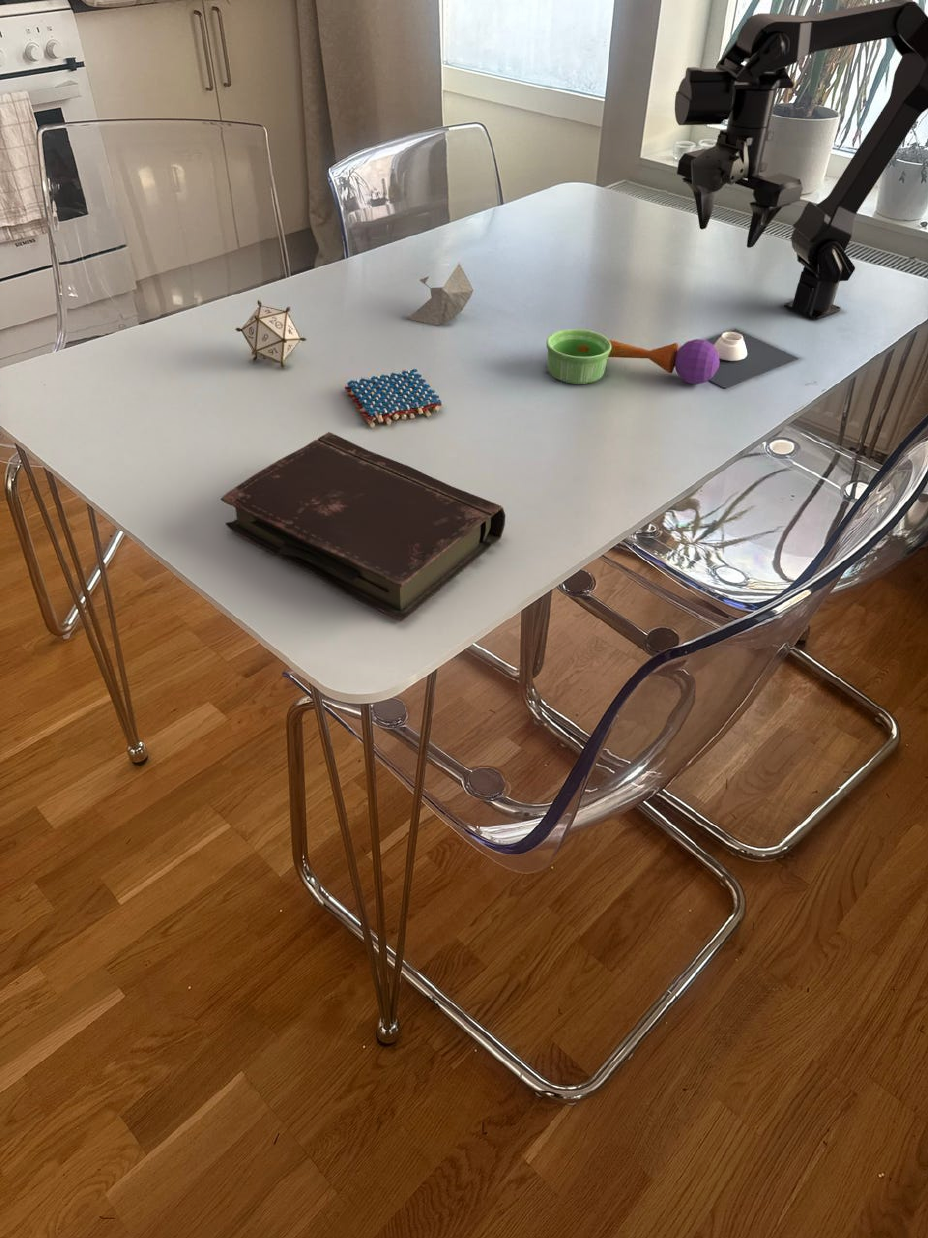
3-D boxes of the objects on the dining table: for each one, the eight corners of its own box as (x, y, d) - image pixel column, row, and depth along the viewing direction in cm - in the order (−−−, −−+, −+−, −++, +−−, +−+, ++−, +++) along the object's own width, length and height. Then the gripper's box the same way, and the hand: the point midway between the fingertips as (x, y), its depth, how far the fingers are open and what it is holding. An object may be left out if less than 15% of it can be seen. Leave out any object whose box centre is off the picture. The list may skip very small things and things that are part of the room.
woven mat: (342, 392, 127) (341, 379, 126) (415, 379, 130) (415, 365, 129) (367, 429, 120) (366, 415, 118) (443, 414, 123) (443, 400, 122)
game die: (290, 381, 137) (327, 328, 132) (256, 385, 129) (295, 330, 125) (249, 338, 137) (285, 284, 133) (213, 340, 130) (250, 282, 125)
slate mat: (735, 329, 144) (735, 328, 144) (798, 358, 137) (798, 357, 137) (662, 356, 137) (662, 355, 137) (724, 388, 130) (725, 388, 129)
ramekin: (558, 352, 137) (561, 323, 134) (616, 366, 134) (620, 337, 131) (534, 377, 131) (536, 347, 128) (594, 392, 128) (598, 362, 125)
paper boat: (429, 328, 140) (387, 295, 143) (439, 350, 146) (398, 318, 149) (484, 271, 140) (441, 239, 143) (491, 295, 146) (450, 264, 149)
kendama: (589, 319, 136) (726, 338, 129) (585, 360, 139) (719, 381, 132) (575, 326, 131) (717, 347, 124) (571, 369, 134) (709, 391, 127)
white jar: (710, 346, 139) (711, 361, 135) (714, 327, 137) (715, 342, 133) (744, 349, 139) (746, 364, 135) (749, 330, 137) (751, 345, 133)
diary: (335, 462, 114) (332, 426, 110) (504, 537, 103) (506, 500, 100) (221, 535, 102) (213, 497, 99) (397, 628, 92) (395, 589, 88)
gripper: (659, 116, 131) (643, 230, 142) (763, 148, 120) (738, 269, 131) (712, 105, 136) (693, 216, 147) (818, 135, 125) (789, 252, 136)
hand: (725, 237), depth 140 cm, fingers open, 9 cm apart
